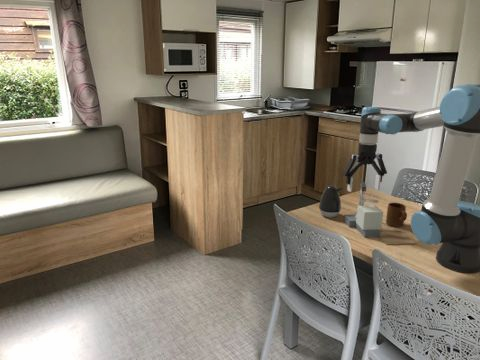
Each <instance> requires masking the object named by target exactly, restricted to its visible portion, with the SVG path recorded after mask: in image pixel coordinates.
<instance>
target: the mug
mask: <svg viewBox="0 0 480 360" xmlns="http://www.w3.org/2000/svg"><path fill="white" fill-rule="evenodd" d="M406 208H407V206H406V205H405V204H404V203H399V202H390V203H388V206H387V208H386V209H387V210H386V218H385V223H386V225H387V226H389V227H393V228H402V227H403V226H404V224H405V221H406V220H407V218H408V214H407V212H406Z"/></svg>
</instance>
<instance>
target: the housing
mask: <svg viewBox="0 0 480 360" xmlns="http://www.w3.org/2000/svg"><path fill="white" fill-rule="evenodd" d="M356 216H357V213H355V214H352V213H351V214H343V222H344V223H345V224H346V225H347V226H348V227H349V228H356V229H357V231H358V232H359V233H360V234H361V235H362V237H364V238H379V236H380V232H381V230H362V229H361V227H360V226H359V225H358V224H357V223H356Z"/></svg>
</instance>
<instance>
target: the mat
mask: <svg viewBox="0 0 480 360" xmlns="http://www.w3.org/2000/svg"><path fill="white" fill-rule="evenodd" d="M378 238H380V240H381V241H382V242H383V243H384V244H385V245H386V246H394V245H397V246H398V245H399V246H401V245H416V242H415V241H413V240H412V239H411V238H410V237H409V236H408V235H407V234H406V233H404V232H403V231H401V230H397V231H396V230H395V231H394V230H392V231H391V230H389V231H380V236H379V237H378Z"/></svg>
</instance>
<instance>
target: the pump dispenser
mask: <svg viewBox="0 0 480 360" xmlns="http://www.w3.org/2000/svg"><path fill="white" fill-rule="evenodd" d="M343 190H344V189H343V187H339V188H337V187H336V186H335V185H328V186H327V187H326V188H324V190H323V193H322V195H321V197H320V201H319V205H318V208H319V211H320V213H321V215H322V216H323V217H325V218H331V219H332V218H335V217H337V216H338V215H339V214H340V211H341V210H342V205H341V204H342V203H341V202H342V201H341V197H340V196H341V195H340V193H339V192H340V191H343Z"/></svg>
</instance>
